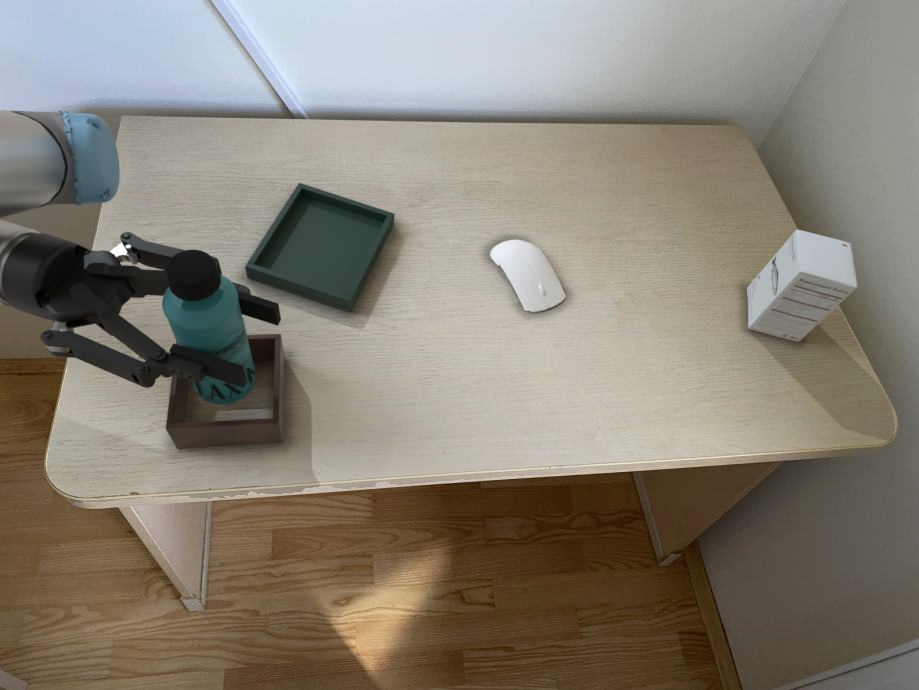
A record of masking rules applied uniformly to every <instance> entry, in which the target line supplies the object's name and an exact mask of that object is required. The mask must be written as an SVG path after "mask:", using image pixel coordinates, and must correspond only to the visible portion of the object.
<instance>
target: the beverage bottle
mask: <svg viewBox="0 0 919 690" xmlns="http://www.w3.org/2000/svg"><path fill="white" fill-rule="evenodd" d="M184 250H185V251H182V252H179V253H177V254H176V255H174V256H173V257H172V258H171V259H170V260H169V261H168V263H167V266H166V275H167V281H168V285H169V287H168V288H167V290H166V291H165V293H164V296H162V300H161V301H162V302H161V307H162V311H163V314H164V315H165V317H166V319H167V321H168V324H169V326H170V328H171V332H172V334H173V337H174V339H175V343H176V342H177V344H178V345H180V346H183V347H186V348H189V349H192V350H195V351H199V352H202V353H205V354H208V355H211V356H214V357H217V358H220V359H223V360H226V361H230V362H233V363H236V364H239V365H242V366H243V367H244V370H245V374H246V378H247V383H246V385H245V387H244V388H242V387H239V386H236V385H233V384H230V383H227V382H224V381H221V380H218V379H215V378H211V377H208V376H205V377H204V379H203V381H202V382H195V381H192V380H189V381H190V383H189V384H190V385H191V386H192V387H193V390H194V392H195V394H196V396H197V397H198V398H200V399H202V400H203V401H204V402H207V403H209V404H212V405H216V406H228V405H233V404H235V403H238V402H240V401H241V400H243V399H245V398H246V396H248V394H249V393H250V392H251V391H252V390H253V388H254V386H255V383H256V382H257V380H256V379H258V376H257V371H256V370H257V367H255V365H256V362H253V361H254V360H253V359H252V355H253V352H252V353H251V349H250V344H249V341H250V340H249V341H248V338H247V335H248V332H247V328H246V325H245V323H246V320H244V316H243V315H242V314H241V309H240V305H239V301H238V293H237V290H236V287H235V286H234V284H233V283H232V282H233V281H232V280H230V279H229V278H228V277H227V276H225V275H223V274H222V275H221V274H220V272H219V269H218V268H217V266H216V263H215V261H214V259H213V258H212V257H211V256H212V255H210V254H209V253H208V252H205V251H204V250H200V249H184ZM253 358H254V356H253Z"/></svg>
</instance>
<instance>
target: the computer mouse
mask: <svg viewBox="0 0 919 690" xmlns="http://www.w3.org/2000/svg"><path fill="white" fill-rule="evenodd" d="M489 253H490V255H489V256H490V259H491V260H492V261H493V262H494V263H495V264H496V266H497V267H499V266H500V267H501V269H502V271H503V273H504V274H505V276H506V277H507V280H508V281H509V282H510V284H511V286H512V288H513V289H514V291H515V294H516V296H517V297H518V300H519V302H520V304H521V306H522V308H523V310H524V311H526V312H529V313H537V312H538V313H539V312H542V311H546V310H548V309H550V308H553V307H556V306H557V305H559V304H560V303H562V302H563V300H565V299H566V298H567V295H566V293H565V291H564V289H563V286H562V284H561V282H560V280H559V278H558V276H557V274H556V273H555V270H554V269H553V267H552V265H551V263H550V262H549V260H548V259H547V257H546V256H545V254H544V252H543V251H542V250H541V248H539V247H538V246H536V245H535V244H533V243H531V242H528V241H526V240H522V239H509V240H505V241H502V242H500V243H498V244H496V245H495V246H494V247H492V249H491V250H490V252H489Z"/></svg>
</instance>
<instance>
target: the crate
mask: <svg viewBox="0 0 919 690" xmlns="http://www.w3.org/2000/svg"><path fill="white" fill-rule="evenodd" d="M247 338H248V341H249V340H250V341H249V344H250V349H251V353H252V352H253V355H252V359H253V360H254V361H253V363H254V362H255V363H273V372H274V373H273V396H272V397H273V399H272V400H273V401H272V402H273V403H272V418H271V417H270V418H254V419H253V418H252V419H232V420H230V419H229V420H212V421H193V422H192V421H190V422H186V421H187V412H188V411H187V410H188V403H189V402H188V401H189V391H190V384H191V383H190V382H191V381H189V379H186V378H182V377H179V376H176V375H172V376H171V380H170V381H171V382H170V390H169V396H168V397H169V398H168V406H167V414H166V422H165V423H166V424H165V429H166V432H167V433H168V435H169V437H170V439H171V441H172V442H173V444H174V446H175V448H176V449H177V450H180V449H182V450H183V449H198V448H199V449H201V448H217V447H235V446H253V445H254V446H255V445H269V444H283V443H284V426H285V425H284V419H285V372H286V371H285V369H286V367H285V366H286V365H285V363H286V358H285V351H284V344H283V337H282V334H281V333H266V334H265V333H263V334H247ZM175 344H177V342H176V341H175ZM177 345H178V344H177ZM253 356H254V358H253Z"/></svg>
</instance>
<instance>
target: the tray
mask: <svg viewBox="0 0 919 690" xmlns="http://www.w3.org/2000/svg"><path fill="white" fill-rule="evenodd" d="M395 215H396V214H395V213H394V212H391V211H388V210H385V209H381V208H379V207H375V206H373V205H369V204H366V203H363V202H360V201H357V200H353V199H352V198H348V197H345V196H341V195H338V194H335V193H333V192H329V191H326V190H323V189H320V188H318V187H317V188H316V187H314V186H312V185H308V184H304V183H302V182H298V184H297V185H296V187H295V188H294V190H293V191H292V193H291V195H289V197H288V198H287V201H286V202H285V204H284V205H283V207H282V208H281V210H280V211H279V213H278V214H277V216H276V217H275V219H274V221H272V224H271V225H270V227H269V228H268V230H267V231H266V233H265V234H264V236H263V238H262V239H261V241H260V243H259V244H258V245H257V247H256V248H255V250H254V251H253V253H252V255H251V256H250V258H249V260H248V261H247V262H246V264H245V266H244V269H245V273H246V278H247V279H249V280H252V281H255V282H259V283H261V284H264V285H267V286H270V287H273V288H276V289H279V290H282V291H285V292H288V293H291V294H294V295H297V296H300V297H303V298H305V299H310V300H312V301H315V302H317V303H321V304H324V305H327V306H329V307H332V308H336V309H339V310H342V311H345V312H348V313H352V311H353V308H354V306H355V304H356V302H357V300H358V298H359V296H360V295H361V293H362V290H363V288H364V286H365V284H366V282H367V280H368V278H369V276H370V274H371V272H372V270H373V268H374V266H375V264H376V262H377V260H378V259H379V256H380V254H381V253H382V250H383V248H384V246H385V245H386V242H387V240H388V238H389V236H390V234H391V232H392V230H393V228H394V226H395Z"/></svg>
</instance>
